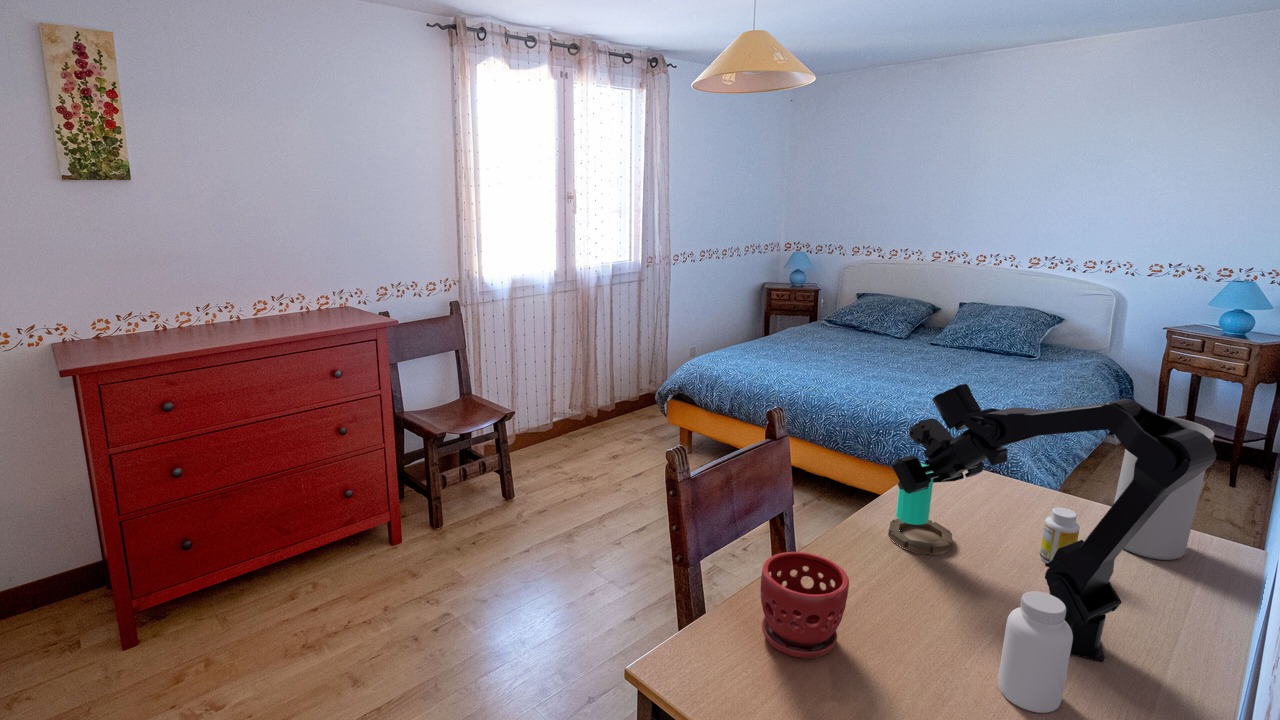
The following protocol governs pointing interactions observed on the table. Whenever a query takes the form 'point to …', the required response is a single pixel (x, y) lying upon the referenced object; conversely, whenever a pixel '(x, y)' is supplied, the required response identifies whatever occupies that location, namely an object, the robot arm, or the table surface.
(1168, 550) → the cylinder vase
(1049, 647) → the pill bottle
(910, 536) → the ring seat
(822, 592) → the plant pot
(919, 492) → the candle
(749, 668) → the table surface
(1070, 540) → the supplement bottle
